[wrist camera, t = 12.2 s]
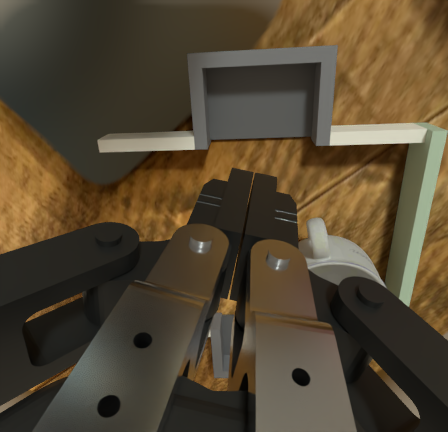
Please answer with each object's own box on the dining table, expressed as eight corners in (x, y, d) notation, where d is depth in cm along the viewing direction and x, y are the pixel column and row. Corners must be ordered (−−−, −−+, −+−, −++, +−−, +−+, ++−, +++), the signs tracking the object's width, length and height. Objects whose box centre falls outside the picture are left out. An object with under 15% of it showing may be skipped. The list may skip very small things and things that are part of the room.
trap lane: (150, 358, 48) (142, 382, 45) (95, 58, 32) (75, 59, 29) (379, 363, 46) (390, 389, 42) (441, 40, 30) (468, 37, 26)
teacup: (360, 301, 42) (383, 352, 35) (271, 302, 43) (275, 351, 36) (373, 194, 36) (404, 229, 29) (269, 198, 37) (274, 232, 30)
